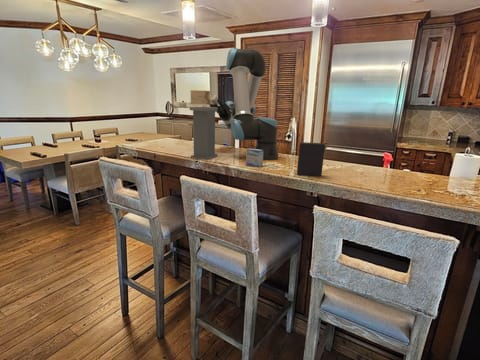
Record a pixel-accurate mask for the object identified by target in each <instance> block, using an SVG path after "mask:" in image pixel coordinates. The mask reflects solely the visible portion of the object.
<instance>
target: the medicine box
mask: <svg viewBox="0 0 480 360" xmlns="http://www.w3.org/2000/svg"><path fill="white" fill-rule="evenodd" d="M263 152H264V150H260V149H255V148H246V154H245V155H246V156H245V157H246V158H245V165H246V167H247V166H248V167H255V168H261V167H263V164H264V159H263Z"/></svg>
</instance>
